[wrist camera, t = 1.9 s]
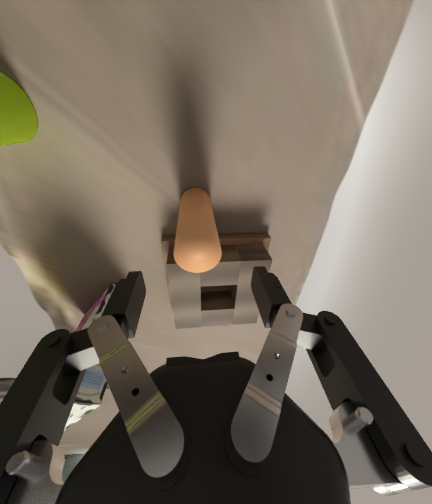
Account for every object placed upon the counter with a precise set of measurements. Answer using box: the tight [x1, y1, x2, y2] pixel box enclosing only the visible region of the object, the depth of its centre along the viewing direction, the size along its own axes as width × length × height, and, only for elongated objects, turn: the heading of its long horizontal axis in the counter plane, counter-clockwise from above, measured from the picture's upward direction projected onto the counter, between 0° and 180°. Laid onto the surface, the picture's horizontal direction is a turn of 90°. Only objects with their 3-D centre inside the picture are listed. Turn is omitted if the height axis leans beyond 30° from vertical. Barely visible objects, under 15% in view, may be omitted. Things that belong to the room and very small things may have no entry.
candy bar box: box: [64, 283, 116, 430], centre depth 28 cm, size 11×5×16 cm, turn 137°
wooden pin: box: [174, 188, 222, 273], centre depth 21 cm, size 4×4×12 cm
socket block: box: [161, 233, 272, 329], centre depth 31 cm, size 16×16×6 cm
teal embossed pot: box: [62, 454, 85, 483], centre depth 86 cm, size 10×10×12 cm
